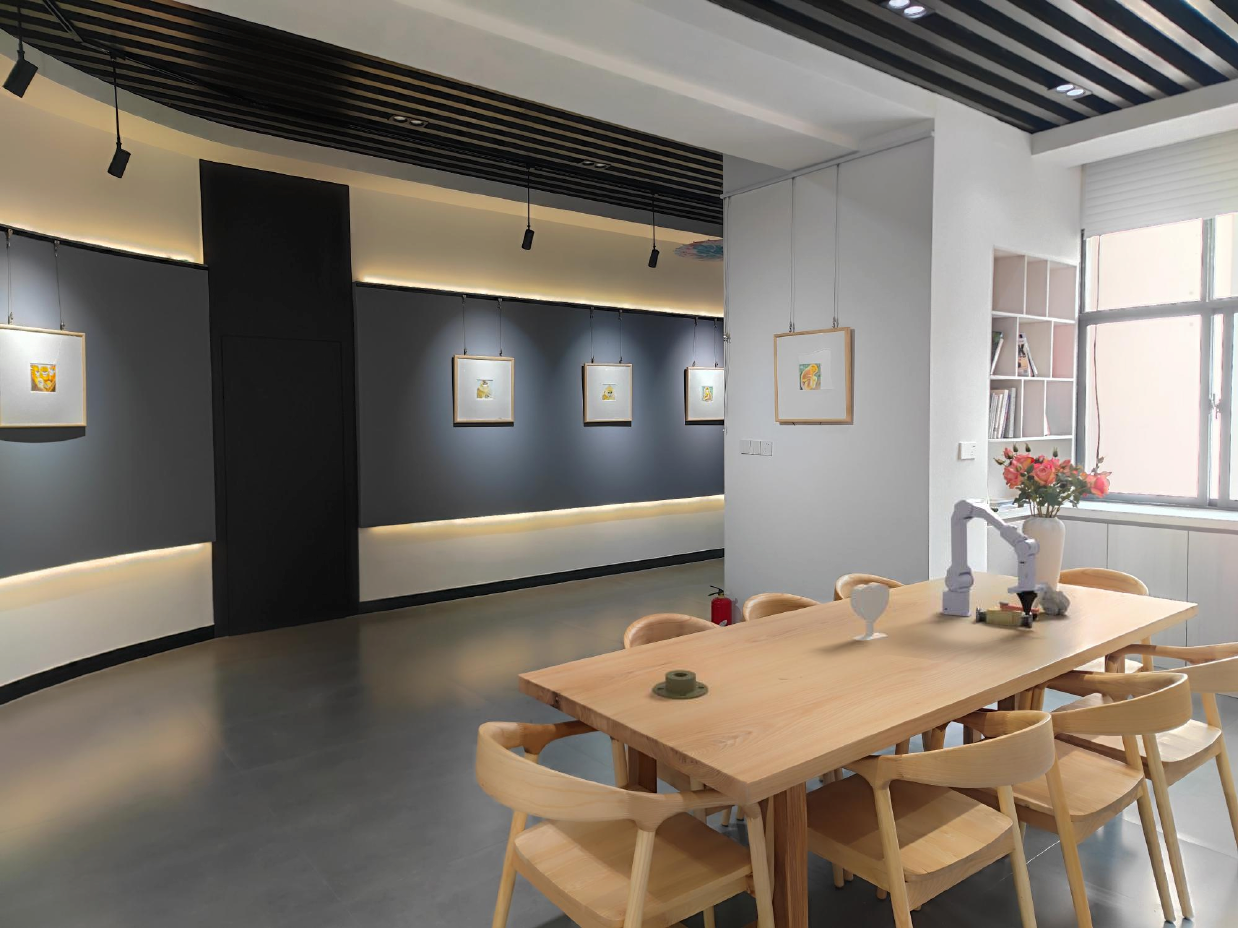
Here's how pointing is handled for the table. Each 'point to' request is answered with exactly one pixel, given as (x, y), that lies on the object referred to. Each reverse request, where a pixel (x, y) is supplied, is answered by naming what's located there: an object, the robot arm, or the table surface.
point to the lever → (1016, 607)
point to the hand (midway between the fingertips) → (1026, 612)
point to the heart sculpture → (869, 606)
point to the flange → (680, 685)
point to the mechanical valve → (1051, 601)
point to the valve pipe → (1004, 617)
